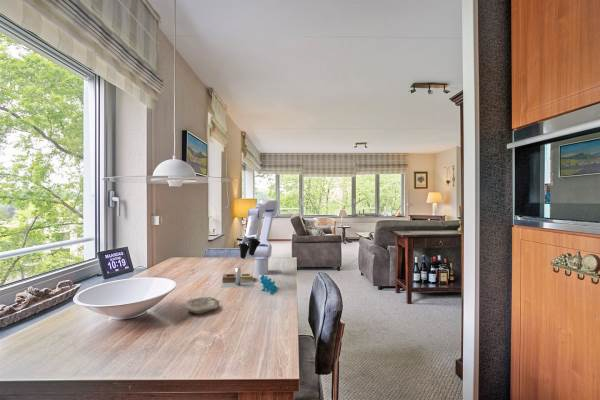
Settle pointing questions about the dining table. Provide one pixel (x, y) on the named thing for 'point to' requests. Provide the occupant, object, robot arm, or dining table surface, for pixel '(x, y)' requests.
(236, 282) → the pin
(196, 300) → the fossil
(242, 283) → the board
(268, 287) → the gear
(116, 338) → the dining table surface
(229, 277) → the block walnut
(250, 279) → the block birch
